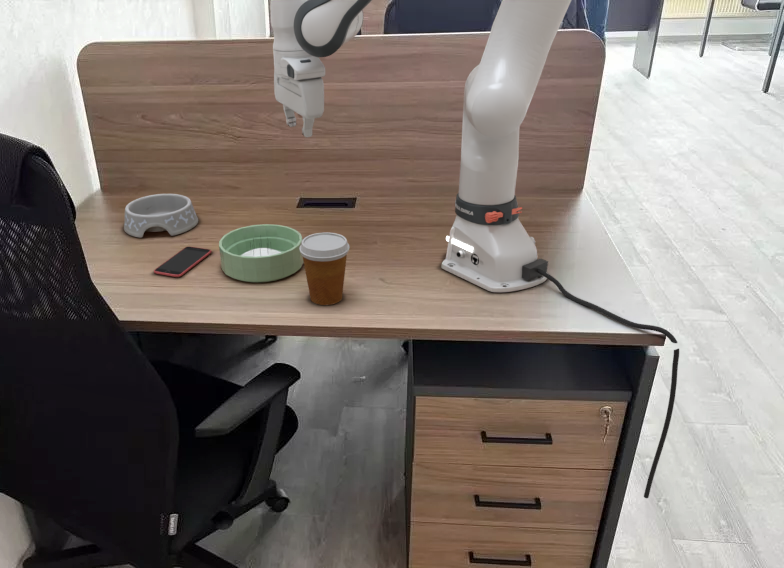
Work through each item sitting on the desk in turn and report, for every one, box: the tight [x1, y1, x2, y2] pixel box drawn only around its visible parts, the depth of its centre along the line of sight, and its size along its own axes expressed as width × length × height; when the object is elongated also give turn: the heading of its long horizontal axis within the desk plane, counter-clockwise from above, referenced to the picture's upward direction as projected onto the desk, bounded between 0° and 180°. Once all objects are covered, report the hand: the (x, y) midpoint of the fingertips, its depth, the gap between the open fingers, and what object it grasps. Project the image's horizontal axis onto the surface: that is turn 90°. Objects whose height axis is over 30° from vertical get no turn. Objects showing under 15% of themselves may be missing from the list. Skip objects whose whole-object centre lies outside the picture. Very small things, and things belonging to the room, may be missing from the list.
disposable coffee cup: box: [299, 231, 351, 306], centre depth 139 cm, size 10×10×12 cm
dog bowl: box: [123, 193, 199, 238], centre depth 179 cm, size 17×18×5 cm
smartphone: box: [153, 245, 212, 278], centre depth 160 cm, size 7×1×14 cm
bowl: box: [218, 223, 304, 283], centre depth 155 cm, size 18×18×6 cm
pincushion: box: [241, 235, 281, 257], centre depth 155 cm, size 12×6×6 cm, turn 91°
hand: (299, 131), depth 155 cm, fingers open, 8 cm apart
